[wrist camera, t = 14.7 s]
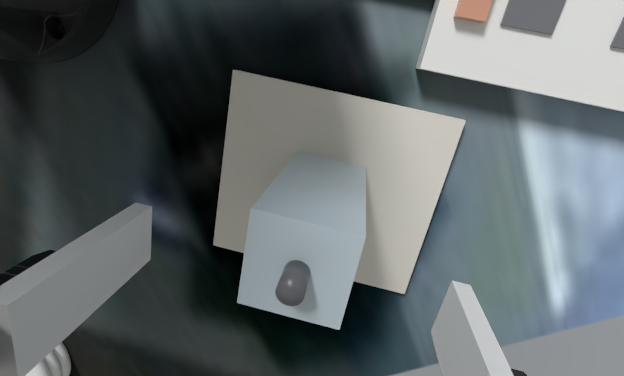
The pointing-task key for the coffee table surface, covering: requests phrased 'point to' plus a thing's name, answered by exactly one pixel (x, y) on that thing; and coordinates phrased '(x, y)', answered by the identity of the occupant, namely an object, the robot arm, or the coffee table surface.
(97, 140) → the coffee table surface
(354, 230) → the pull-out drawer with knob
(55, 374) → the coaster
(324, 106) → the rubber mat
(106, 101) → the coffee table surface
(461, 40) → the power strip
